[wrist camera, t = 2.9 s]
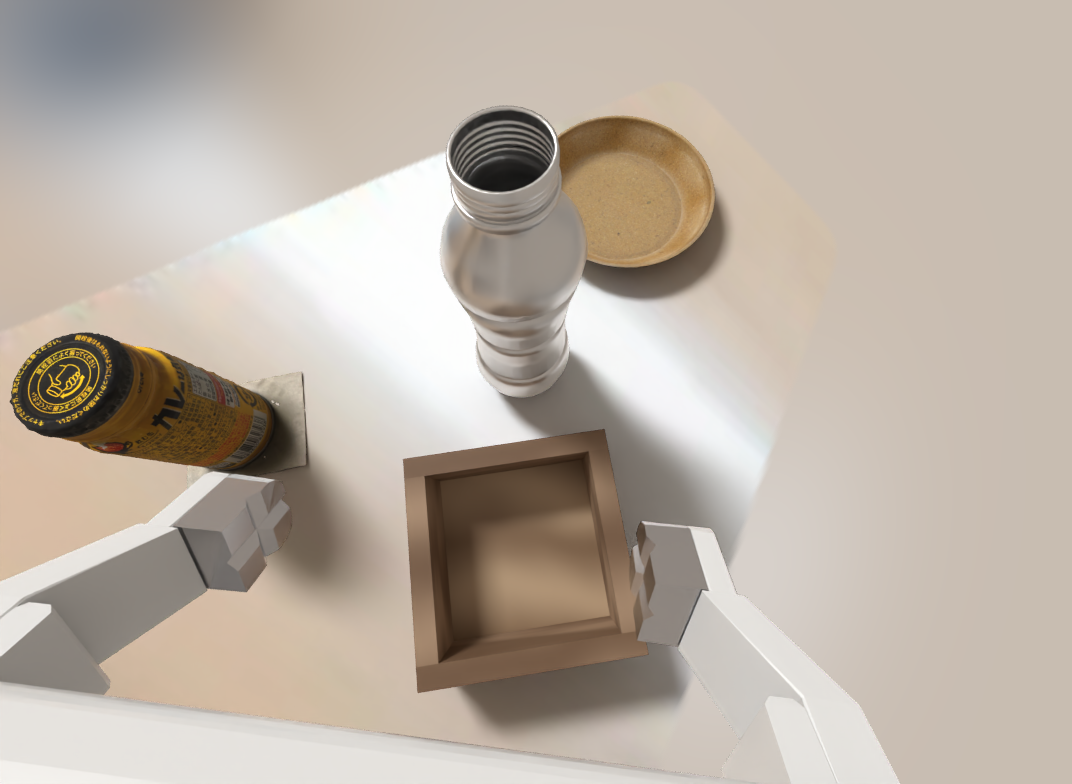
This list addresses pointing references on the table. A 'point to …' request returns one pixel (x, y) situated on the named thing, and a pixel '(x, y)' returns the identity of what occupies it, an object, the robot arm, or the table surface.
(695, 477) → the table surface
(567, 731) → the table surface
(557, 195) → the plastic bottle
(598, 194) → the plant saucer
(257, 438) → the condiment
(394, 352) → the table surface
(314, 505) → the table surface
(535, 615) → the tray
